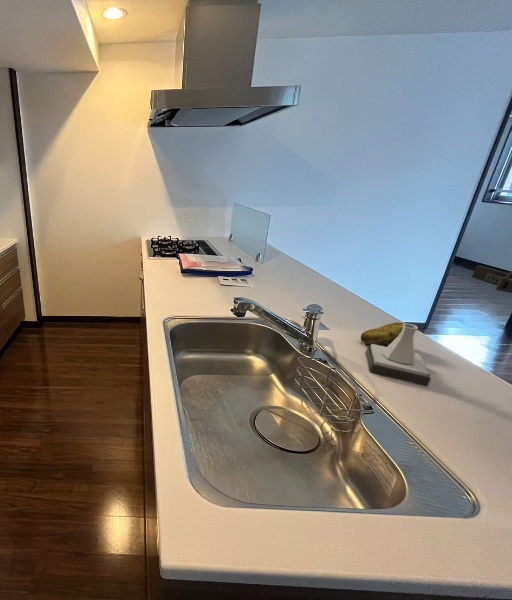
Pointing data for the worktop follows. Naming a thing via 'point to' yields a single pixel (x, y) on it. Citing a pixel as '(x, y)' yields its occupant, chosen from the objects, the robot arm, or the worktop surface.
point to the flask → (402, 346)
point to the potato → (382, 334)
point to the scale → (397, 367)
